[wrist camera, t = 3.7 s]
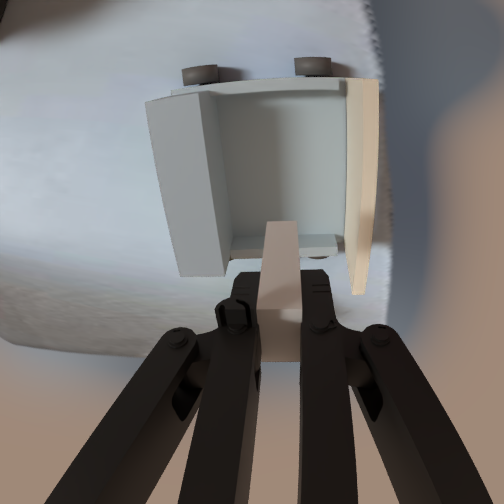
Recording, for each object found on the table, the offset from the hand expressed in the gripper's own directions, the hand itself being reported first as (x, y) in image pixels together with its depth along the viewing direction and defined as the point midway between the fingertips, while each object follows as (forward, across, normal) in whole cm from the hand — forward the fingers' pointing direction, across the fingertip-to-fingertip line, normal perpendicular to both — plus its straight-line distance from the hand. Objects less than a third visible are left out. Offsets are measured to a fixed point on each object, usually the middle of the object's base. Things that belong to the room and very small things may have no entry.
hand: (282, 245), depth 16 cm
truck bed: (+16, -2, 0) cm, 17 cm away
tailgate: (+13, +6, 0) cm, 15 cm away
